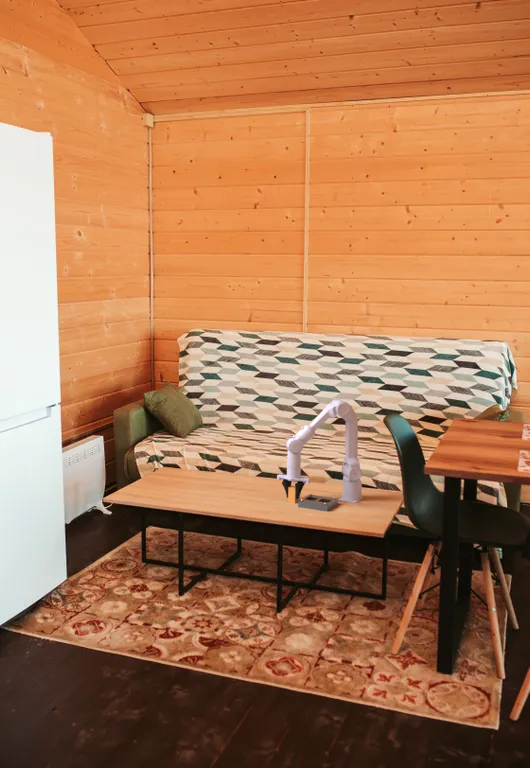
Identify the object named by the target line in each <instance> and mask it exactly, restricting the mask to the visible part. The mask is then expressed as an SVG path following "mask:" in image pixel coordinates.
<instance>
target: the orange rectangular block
mask: <svg viewBox="0 0 530 768" xmlns="http://www.w3.org/2000/svg"><path fill="white" fill-rule="evenodd" d="M287 499H288V500H287V503H289V504H290V503H291V504H296V503H298V501H299V499H296V487H295V485H291V486H290V487H288V498H287Z"/></svg>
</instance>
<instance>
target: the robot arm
mask: <svg viewBox="0 0 530 768" xmlns="http://www.w3.org/2000/svg"><path fill="white" fill-rule="evenodd" d="M338 416H339V417H341V419H343V420H344V421H345V430H344V431H345V438H344V439H345V441H344V442H345V443H344V444H345V449H344V451H345V456H344V458H343V464H342V466H341V473H342V474H343V477H342V496H341V497H340V498H338V501H341V502H342V501H343V502H348V503H358V502H360V501H361V500H362V499H364V496H362V489H363V487H362V486H363V484H362V480H361V477H362V475H363V472H362V469H361V466H360V464H361V463H360V460H359V458H358V446H359V445H358V443H359V442H358V441H359V440H358V439H359V438H358V436H359V435H358V433H359V431H358V429H359V428H358V427H359V426H358V425H359V424H358V423H359V422H358V421H359V418H358V415H357V413H356V412H355V411H354V408H353V406H352V405H351V404H349V403H348V402H346V401H344V400H342V399H340V398H334V399H332V401H330V403H328V404H326V406H325V407H324V408H323V410H322V411H321V412H320V413H319V414H317V416H316V417H315V418H314V419H313V420H312V421H311V423H309V424H305V425H304V426H303V425H302V426H301V427H300V430H299V431H298V432H297V433H296V434H293V435H292V437H290V438H289V439H288V440H286V443H285V447H286V449H287V456H286V457H287V458H286V474H281V473H280V474H279V473H278V474H277V475H276V480H277V481H280V480H281V481H282V482H281V484H282V486H283V489H284V491H285V495H286V498H287V499H288V487H290V486H292V482H295V483H294V486H295V487H296V499H298V500H300V497H301V493H302V491H303V488H304V486H305V485H306V484H307V485H309V484H310V483H311V477H310V478H309V477H304V476H301V469H302V468H301V465H302V464H301V463H302V461H301V459H302V457H301V456H302V454H301V452H302V451H303V450H304V446H306V444H307V443H308V442H310V440H311V439H313V437H314V436H315V434H316V430H318V428H320V427H321V426H322V425H323V424H324V423H325V422H326V421H327V420H328V419H334V418H337V417H338Z"/></svg>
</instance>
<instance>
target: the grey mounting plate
mask: <svg viewBox="0 0 530 768" xmlns="http://www.w3.org/2000/svg"><path fill="white" fill-rule="evenodd" d="M338 504H339V498H338V497H337V498H336V497H335V496H333V497H331V496H323V495H318V494H317V495H315V494H313V493H309V494H307V495H306V496H304V497H302V498H301V499H298V502H297V507H298V508H303V509H309V510H316V511H323V512H328V511H330V510H332V509H333V508H334V507H336V506H337V505H338Z"/></svg>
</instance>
